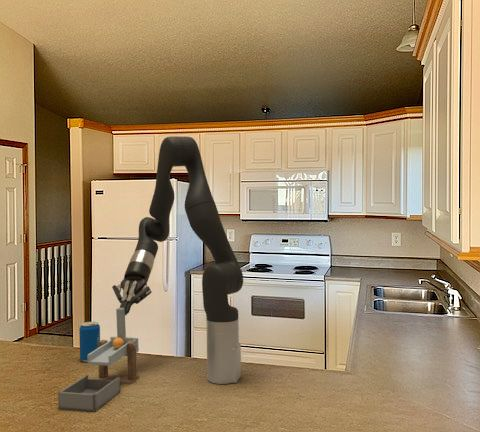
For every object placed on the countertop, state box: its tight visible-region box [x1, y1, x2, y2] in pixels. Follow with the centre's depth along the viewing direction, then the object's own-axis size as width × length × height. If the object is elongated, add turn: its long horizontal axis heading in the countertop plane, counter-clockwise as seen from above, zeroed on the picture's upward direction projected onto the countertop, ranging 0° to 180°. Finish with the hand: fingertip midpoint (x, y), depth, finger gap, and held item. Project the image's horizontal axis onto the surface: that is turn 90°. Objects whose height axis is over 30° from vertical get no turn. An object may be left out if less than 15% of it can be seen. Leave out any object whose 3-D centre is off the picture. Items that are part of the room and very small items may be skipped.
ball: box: [113, 337, 124, 349], centre depth 138 cm, size 3×3×3 cm
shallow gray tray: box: [57, 374, 121, 413], centre depth 123 cm, size 10×13×4 cm
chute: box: [87, 307, 140, 367], centre depth 136 cm, size 7×18×14 cm, turn 168°
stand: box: [97, 339, 140, 385], centre depth 138 cm, size 12×5×11 cm, turn 77°
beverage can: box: [79, 321, 101, 363], centre depth 157 cm, size 6×6×12 cm
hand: (122, 313), depth 142 cm, fingers closed
